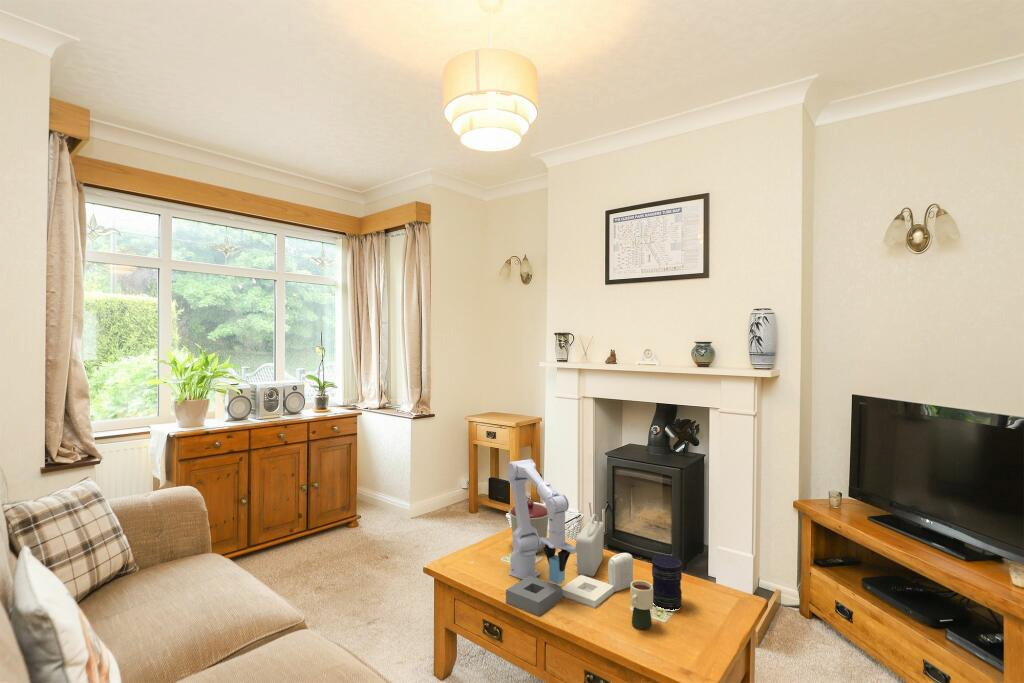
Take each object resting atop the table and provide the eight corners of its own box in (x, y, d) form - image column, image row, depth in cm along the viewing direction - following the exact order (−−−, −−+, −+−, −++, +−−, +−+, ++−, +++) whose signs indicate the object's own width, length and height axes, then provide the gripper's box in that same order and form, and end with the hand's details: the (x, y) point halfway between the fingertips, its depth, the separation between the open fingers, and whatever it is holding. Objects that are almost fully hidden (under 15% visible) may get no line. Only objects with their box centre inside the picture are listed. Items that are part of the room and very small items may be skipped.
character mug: (640, 615, 172) (640, 576, 172) (660, 623, 167) (660, 583, 167) (622, 628, 165) (622, 587, 164) (642, 637, 160) (642, 595, 159)
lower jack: (560, 595, 185) (560, 588, 185) (580, 581, 196) (580, 574, 196) (594, 608, 177) (594, 601, 176) (614, 592, 187) (614, 585, 187)
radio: (585, 554, 221) (585, 495, 220) (604, 557, 218) (604, 498, 217) (571, 576, 200) (572, 511, 200) (593, 580, 197) (593, 514, 197)
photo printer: (626, 581, 196) (626, 549, 196) (634, 586, 192) (634, 552, 192) (606, 588, 190) (606, 555, 190) (614, 593, 187) (614, 559, 187)
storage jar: (650, 608, 177) (650, 564, 177) (653, 595, 186) (653, 553, 186) (680, 614, 173) (680, 569, 173) (682, 600, 182) (682, 557, 182)
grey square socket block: (505, 602, 180) (505, 589, 180) (529, 587, 191) (529, 575, 191) (538, 616, 172) (538, 602, 171) (561, 599, 182) (561, 586, 182)
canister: (537, 561, 214) (537, 510, 214) (500, 551, 224) (500, 502, 223) (557, 546, 229) (557, 499, 229) (522, 538, 239) (523, 492, 239)
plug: (549, 580, 183) (549, 558, 183) (556, 576, 187) (556, 554, 187) (558, 584, 181) (558, 561, 180) (565, 579, 184) (565, 557, 184)
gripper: (533, 528, 185) (533, 566, 185) (568, 538, 176) (568, 578, 176) (545, 523, 190) (545, 560, 190) (579, 532, 181) (579, 571, 181)
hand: (557, 568), depth 183 cm, fingers closed on plug, 4 cm apart
